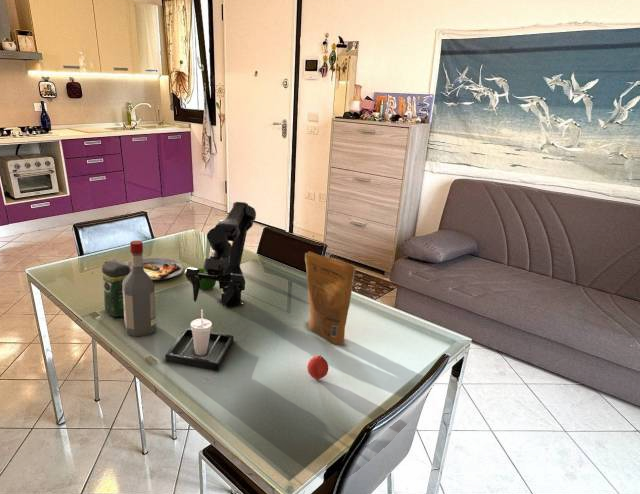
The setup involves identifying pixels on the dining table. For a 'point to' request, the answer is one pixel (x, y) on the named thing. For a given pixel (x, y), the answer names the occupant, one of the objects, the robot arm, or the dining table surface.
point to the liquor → (138, 296)
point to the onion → (317, 367)
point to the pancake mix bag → (328, 295)
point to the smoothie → (201, 334)
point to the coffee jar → (114, 286)
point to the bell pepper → (206, 282)
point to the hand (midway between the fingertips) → (208, 303)
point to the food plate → (160, 268)
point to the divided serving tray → (198, 362)
